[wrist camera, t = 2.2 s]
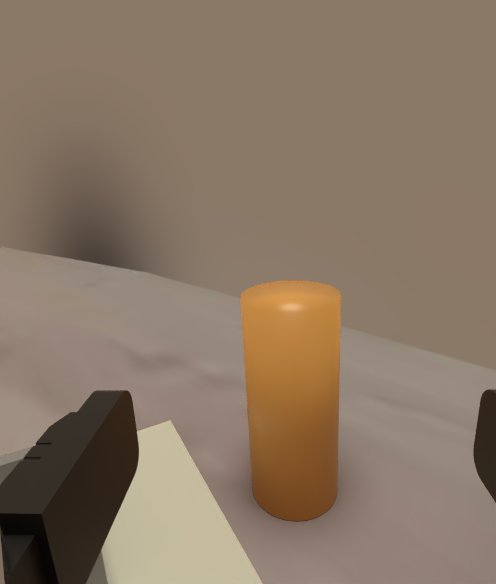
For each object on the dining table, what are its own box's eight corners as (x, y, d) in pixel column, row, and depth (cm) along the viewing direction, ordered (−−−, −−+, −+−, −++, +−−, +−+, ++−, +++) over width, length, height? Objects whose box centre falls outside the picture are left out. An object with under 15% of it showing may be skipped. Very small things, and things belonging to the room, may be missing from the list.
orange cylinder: (304, 446, 27) (302, 275, 24) (355, 497, 23) (363, 298, 19) (238, 474, 25) (224, 291, 21) (280, 536, 21) (272, 321, 17)
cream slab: (172, 438, 29) (166, 389, 27) (273, 627, 17) (270, 555, 16) (-160, 556, 21) (-190, 495, 20) (-405, 1053, 9) (-517, 979, 8)
